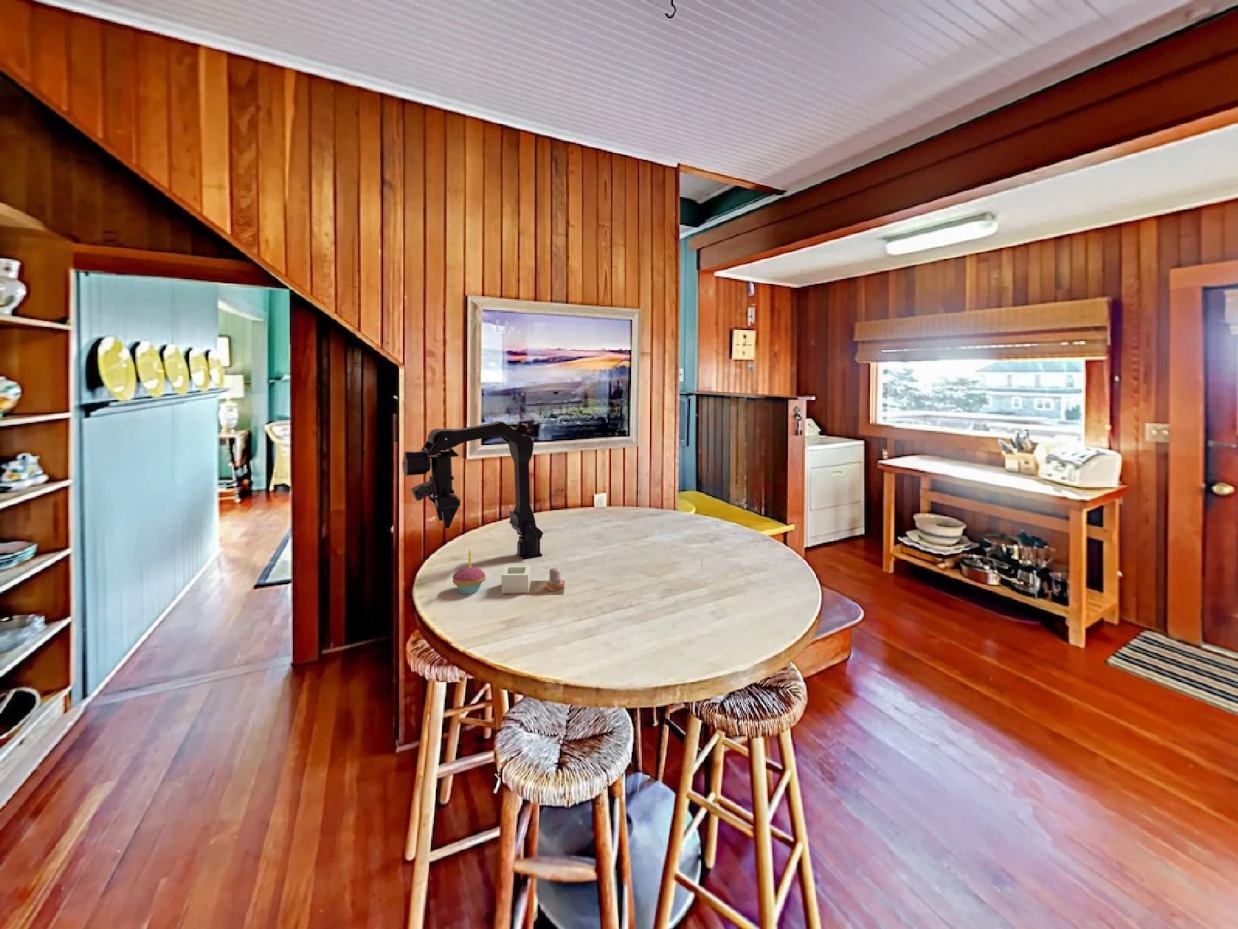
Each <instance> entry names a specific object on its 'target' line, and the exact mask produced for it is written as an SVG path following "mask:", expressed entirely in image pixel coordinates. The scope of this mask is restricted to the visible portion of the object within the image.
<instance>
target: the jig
mask: <svg viewBox="0 0 1238 929" xmlns="http://www.w3.org/2000/svg"><path fill="white" fill-rule="evenodd" d="M561 579H562V578H561V569H560V568H557V567H553V568H550V569H549V580H531V583H530V587H529V591H528V593H502V596H562V595H563V596H564V595H565V594H564V593H565V585H566V584H565V583H566V580H561Z"/></svg>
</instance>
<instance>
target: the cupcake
mask: <svg viewBox="0 0 1238 929" xmlns="http://www.w3.org/2000/svg"><path fill="white" fill-rule="evenodd" d="M485 581H486V574H485V572H484V571H483V570H482V568H478V567H474V566H472V550H469V551H468V566H465V567H462V568H460V569H458V570H457V571H456V572H454V573H453V576H452V583H453V584H454V585H455V586H456V587H457V590H458V592H459V593H461V594H475V593H476V592H478V591H479V590H480V588H481V585H482V583H483V582H485Z"/></svg>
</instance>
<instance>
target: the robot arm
mask: <svg viewBox="0 0 1238 929" xmlns="http://www.w3.org/2000/svg"><path fill="white" fill-rule="evenodd" d="M497 436H499V438H501V439H502V440H503V441H504V442H506V443H507V444H508V448H509V454H510V456H511V458H512V460H513V468H514V472H513V473H514V492H515V493H514V494H515V495H514V497H515V501H514V502H515V507H514V509H513V510H510V511H509V512H508V513H509V522H508V523H509V524H510V525H511V527H512V529H513V530H515V531H516V534H517V535H518V541H517V543H516V553H517V554H518V556H520V557H521V558H523V559H529V558H536V557H542V556H543V554H542V553H541V539H542V538H543V535H544V532H543V531H542V530H541V529H540V528H539V527H538V526H537V523H536V519H535V514H534V512H533V510H532V507H531V490H530V488H531V486H530V480H531V479H530V461H531V459H532V457H533V452H534V445H535V443H534V440H533V439H532V437H531V436H529V435H526V434H524V433H523V434H522V433H521V432H519V431H518V430H516V429H514V428H513V427H511V426H510V425H508V423H506V422H504V421H500V420H496V421H494V422H491V423H490V422H489V423H485V424H479V425H473V426H468V427H463V428H435V429H432V430H430V431H429V433H428V435H427V440H426V441H425V443H424V445H423V446H422V448H421V449H420V450H417V451H410V450H409V451H404V452H403V454H404V456H403V458H402V463H401V464H402V471H403V474H404V476H405V477H409V476H420V475H427V474H428V472H430V471H431V472H430V473H431V474H430V475H429V477H428V480H427V481H425V482H423V483H420V484H418V485H415V486H413V487H411V488H410V490H411V493H412V495H413V496H414V499H415V500H416V501H417V502H419V501H422V500H423V499H424V498H428V500H429V501H431V502H432V503H433V504H434V508H435V511H436V515H437V518H438V521H439V522H441V521H443V525H444V529H450V527H451V525H452V523H453V521H454V518H455V517H456V513H457V511H458V509H459V508H460V506H461V499H460V498H459V497H458V496H457V495H456V494H455V489H453V487H454V485H453V481H454V480H455V479H454V478H455V477H454V475H453V468H452V467H453V466H452V464H453V463H452V458H455V457H459V453H457V452H456V451H455V450H454V448H455V447H456V448H457V446H459V445H462V444H464V443H467V442H471V441H477V440H481V439H487V438H491V437H497Z"/></svg>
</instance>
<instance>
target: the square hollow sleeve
mask: <svg viewBox="0 0 1238 929" xmlns="http://www.w3.org/2000/svg"><path fill="white" fill-rule="evenodd" d="M500 576H501V593H502V594H503V593H528V591H529V587H530V583H531V581H532V580H531V578H532V577H531V565H504V568H503V570H502V573H501V575H500Z"/></svg>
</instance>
